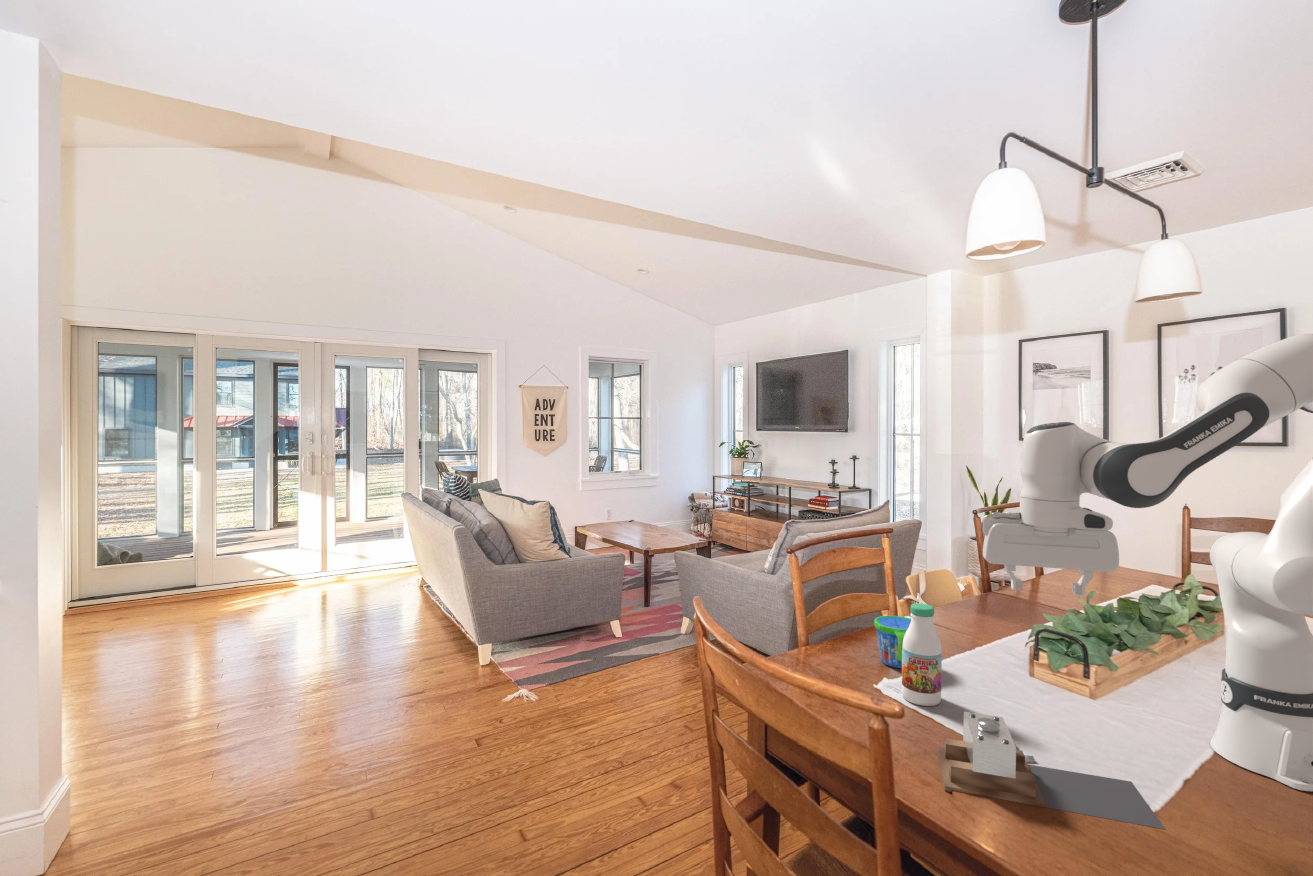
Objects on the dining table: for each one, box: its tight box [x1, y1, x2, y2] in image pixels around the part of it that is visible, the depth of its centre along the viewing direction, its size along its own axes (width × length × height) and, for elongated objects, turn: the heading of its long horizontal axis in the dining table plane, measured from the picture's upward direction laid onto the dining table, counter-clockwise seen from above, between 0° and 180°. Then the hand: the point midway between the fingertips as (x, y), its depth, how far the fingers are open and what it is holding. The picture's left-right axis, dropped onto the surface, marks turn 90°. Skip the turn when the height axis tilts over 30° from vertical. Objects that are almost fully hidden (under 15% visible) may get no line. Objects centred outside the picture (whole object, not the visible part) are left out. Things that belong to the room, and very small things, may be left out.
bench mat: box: [1027, 763, 1166, 830], centre depth 95 cm, size 16×12×1 cm
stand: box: [936, 737, 1046, 808], centre depth 100 cm, size 14×12×3 cm
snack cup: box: [873, 615, 912, 669], centre depth 146 cm, size 16×10×10 cm
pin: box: [1024, 754, 1036, 764], centre depth 105 cm, size 4×1×1 cm
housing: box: [962, 711, 1017, 779], centre depth 100 cm, size 10×6×6 cm, turn 161°
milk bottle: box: [901, 602, 943, 707], centre depth 128 cm, size 8×8×20 cm
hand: (1046, 591), depth 107 cm, fingers open, 8 cm apart
